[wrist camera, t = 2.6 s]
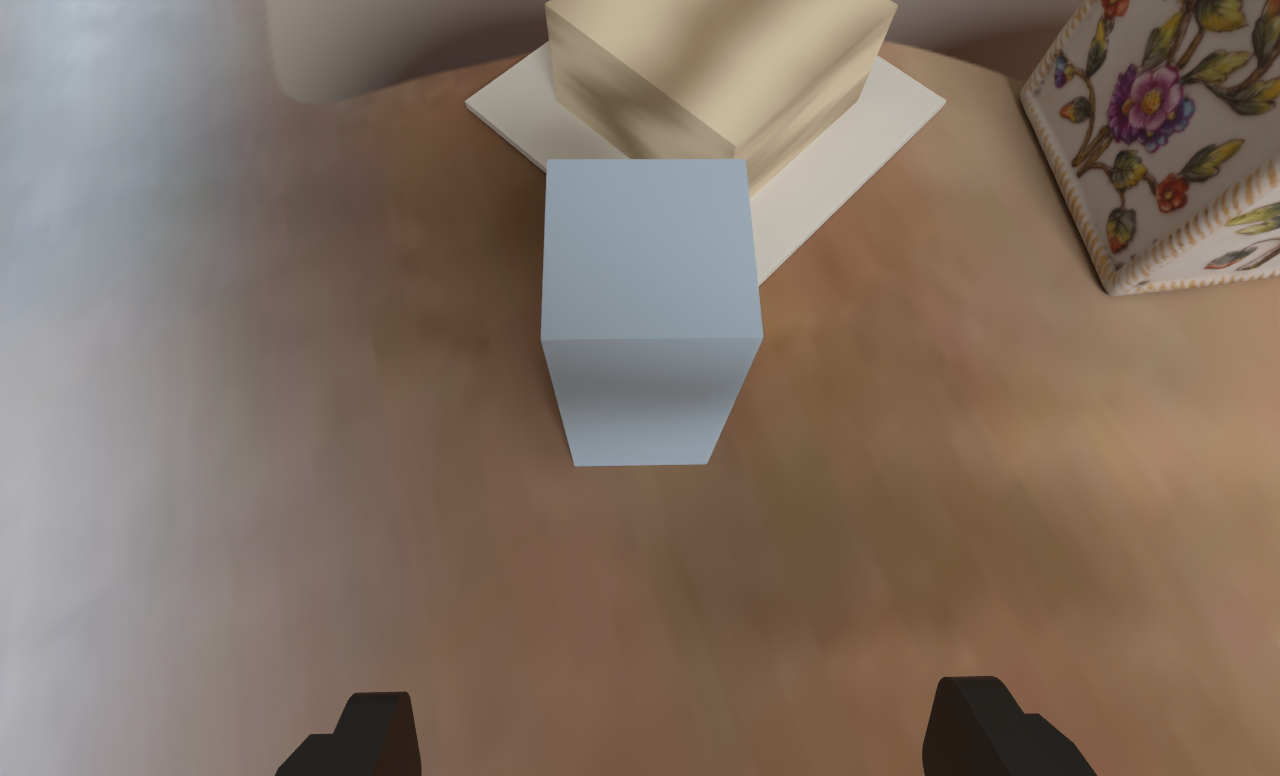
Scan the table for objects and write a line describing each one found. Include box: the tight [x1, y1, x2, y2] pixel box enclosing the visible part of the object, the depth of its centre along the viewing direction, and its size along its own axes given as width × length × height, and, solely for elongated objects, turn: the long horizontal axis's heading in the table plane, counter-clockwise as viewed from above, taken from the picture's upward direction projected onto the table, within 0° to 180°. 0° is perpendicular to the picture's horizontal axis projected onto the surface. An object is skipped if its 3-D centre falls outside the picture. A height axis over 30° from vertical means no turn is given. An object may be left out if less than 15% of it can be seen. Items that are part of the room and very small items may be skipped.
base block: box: [545, 0, 898, 199], centre depth 29 cm, size 10×10×5 cm
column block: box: [541, 159, 763, 466], centre depth 21 cm, size 5×5×11 cm
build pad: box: [465, 41, 946, 287], centre depth 31 cm, size 16×16×1 cm
